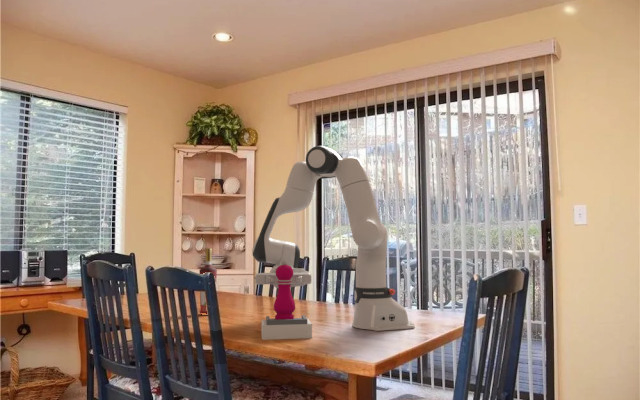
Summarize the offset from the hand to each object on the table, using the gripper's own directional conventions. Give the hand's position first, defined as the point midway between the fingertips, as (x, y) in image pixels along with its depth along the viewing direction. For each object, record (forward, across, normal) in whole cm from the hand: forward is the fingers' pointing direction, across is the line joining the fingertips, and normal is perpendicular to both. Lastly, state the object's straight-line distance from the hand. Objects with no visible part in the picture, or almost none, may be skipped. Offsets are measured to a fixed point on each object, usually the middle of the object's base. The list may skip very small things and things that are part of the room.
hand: (284, 280), depth 165 cm
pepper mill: (+6, 0, +13) cm, 14 cm away
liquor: (-44, -30, +18) cm, 56 cm away
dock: (+5, 0, +18) cm, 18 cm away
